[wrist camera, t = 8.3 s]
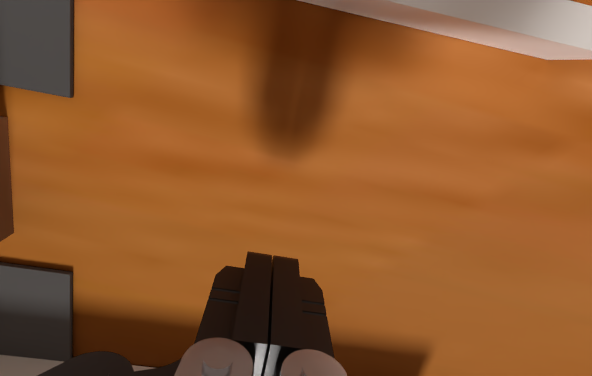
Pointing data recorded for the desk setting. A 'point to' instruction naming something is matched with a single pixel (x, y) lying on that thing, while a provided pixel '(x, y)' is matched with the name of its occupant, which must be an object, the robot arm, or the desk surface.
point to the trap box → (370, 3)
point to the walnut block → (5, 183)
